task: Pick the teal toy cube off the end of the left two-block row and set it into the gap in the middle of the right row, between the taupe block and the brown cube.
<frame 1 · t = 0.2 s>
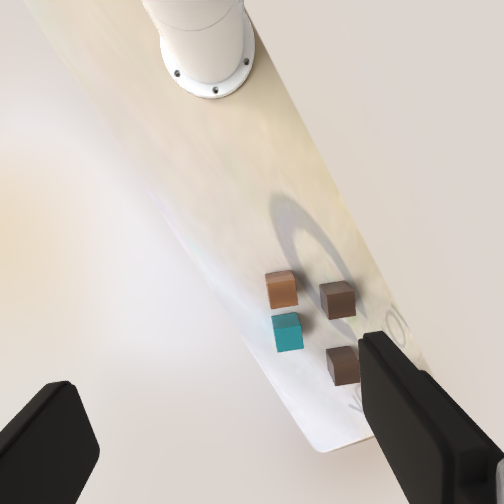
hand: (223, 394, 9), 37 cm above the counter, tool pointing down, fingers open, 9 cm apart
taupe block: (332, 294, 48), on the counter
brown cube: (338, 357, 52), on the counter
caramel wooden cube: (279, 284, 47), on the counter
teal toy cube: (285, 325, 50), on the counter
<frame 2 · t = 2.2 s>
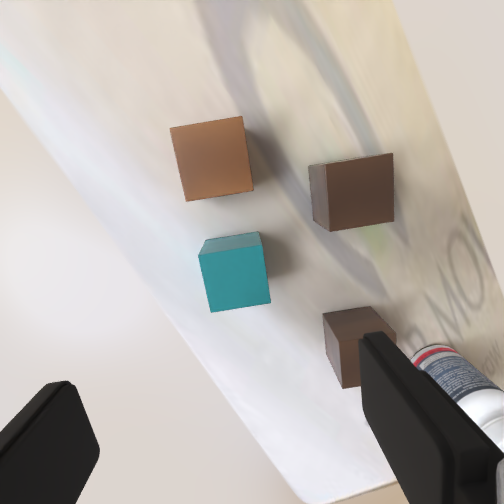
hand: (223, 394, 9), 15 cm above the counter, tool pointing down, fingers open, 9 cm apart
pill bottle: (430, 365, 27), on the counter
taupe block: (337, 189, 22), on the counter
brown cube: (347, 330, 26), on the counter
caramel wooden cube: (218, 162, 21), on the counter
teal toy cube: (236, 260, 23), on the counter
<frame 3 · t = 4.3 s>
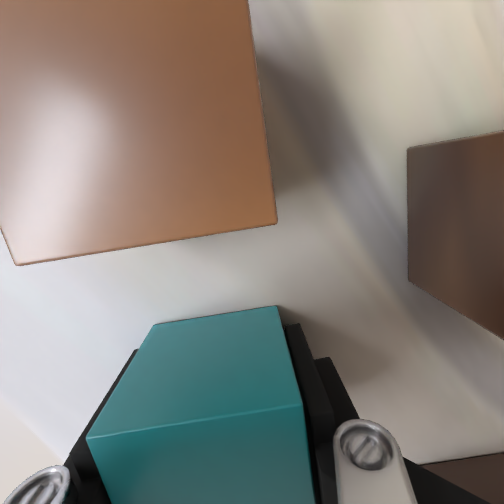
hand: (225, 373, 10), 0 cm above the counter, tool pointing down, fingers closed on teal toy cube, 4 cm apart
taupe block: (473, 207, 9), on the counter
brown cube: (458, 496, 12), on the counter
caramel wooden cube: (177, 139, 8), on the counter
teal toy cube: (226, 367, 10), on the counter, touching gripper
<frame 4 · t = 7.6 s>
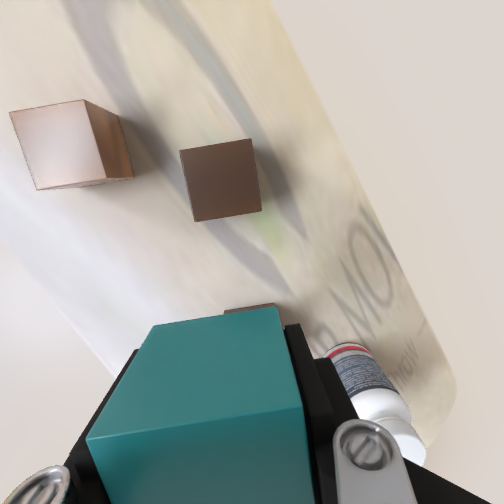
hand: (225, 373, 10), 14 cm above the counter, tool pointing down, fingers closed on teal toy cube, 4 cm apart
pill bottle: (344, 364, 26), on the counter
taupe block: (225, 180, 21), on the counter
caramel wooden cube: (97, 152, 20), on the counter
teal toy cube: (226, 368, 10), point 13 cm above the counter, touching gripper
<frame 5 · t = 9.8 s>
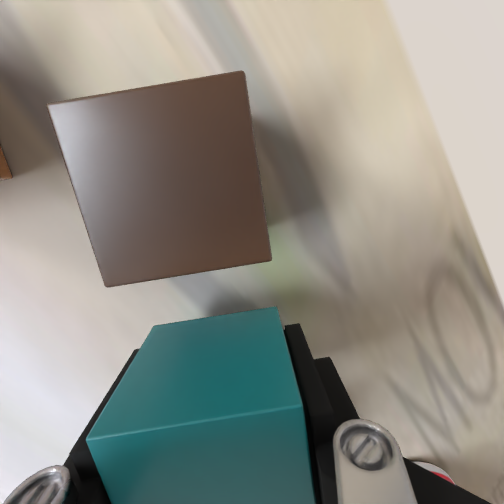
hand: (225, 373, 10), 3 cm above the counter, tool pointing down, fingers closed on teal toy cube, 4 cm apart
taupe block: (197, 183, 11), on the counter
teal toy cube: (226, 368, 10), point 2 cm above the counter, touching gripper
when the fingers open (0 cm above the counter, at t = 10.9 s): teal toy cube stays where it is, on the counter.
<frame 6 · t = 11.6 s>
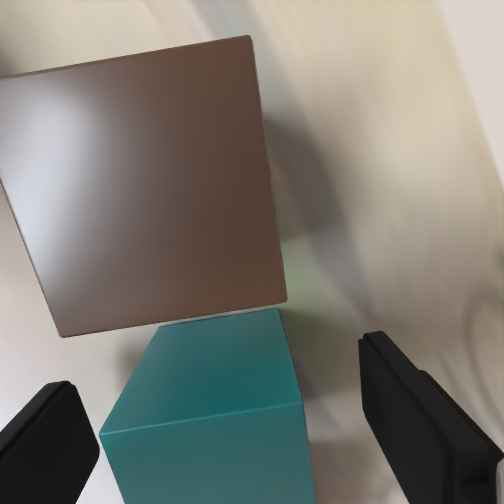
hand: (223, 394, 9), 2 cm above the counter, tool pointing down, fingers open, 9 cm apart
taupe block: (191, 192, 9), on the counter
teal toy cube: (229, 368, 11), on the counter
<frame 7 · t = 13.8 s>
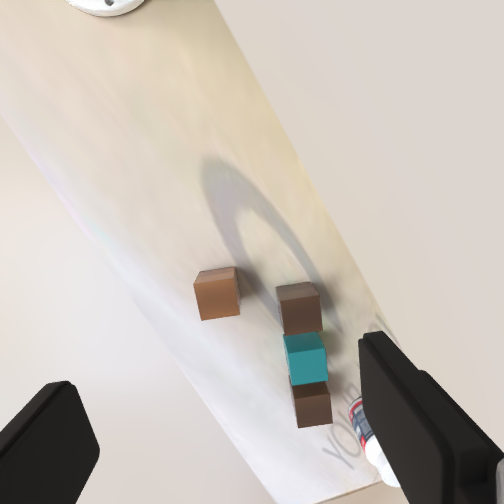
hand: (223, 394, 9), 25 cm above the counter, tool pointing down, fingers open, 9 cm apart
pill bottle: (365, 409, 40), on the counter
taupe block: (295, 300, 35), on the counter
brown cube: (306, 386, 38), on the counter
caramel wooden cube: (220, 285, 35), on the counter
teal toy cube: (301, 346, 37), on the counter
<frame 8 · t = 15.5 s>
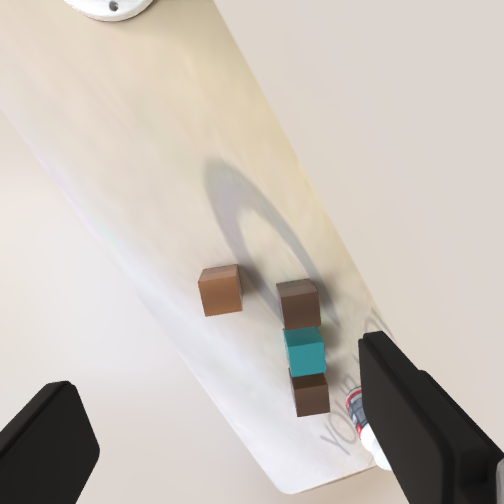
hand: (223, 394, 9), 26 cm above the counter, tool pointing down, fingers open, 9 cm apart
pill bottle: (361, 399, 42), on the counter
taupe block: (294, 296, 37), on the counter
brown cube: (305, 377, 40), on the counter
caramel wooden cube: (223, 282, 36), on the counter
teal toy cube: (300, 339, 39), on the counter
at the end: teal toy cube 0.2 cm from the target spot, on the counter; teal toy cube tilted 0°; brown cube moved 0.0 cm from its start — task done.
